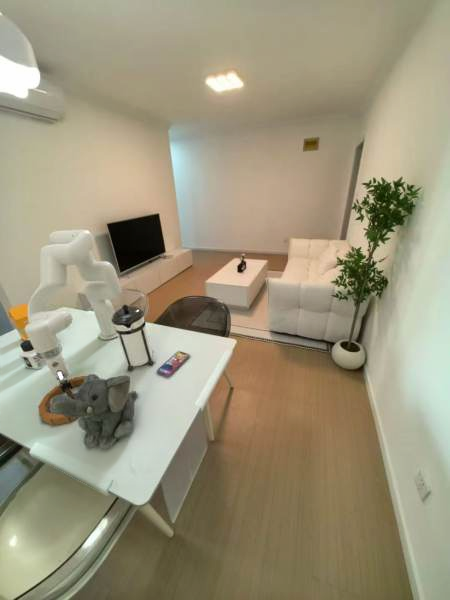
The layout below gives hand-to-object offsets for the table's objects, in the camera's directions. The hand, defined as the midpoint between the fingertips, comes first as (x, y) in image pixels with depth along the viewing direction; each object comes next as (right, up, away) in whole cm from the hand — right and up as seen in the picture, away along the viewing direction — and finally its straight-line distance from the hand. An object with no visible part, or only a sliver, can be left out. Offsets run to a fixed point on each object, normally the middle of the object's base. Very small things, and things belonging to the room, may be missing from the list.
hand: (65, 383), depth 94 cm
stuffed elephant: (+27, -9, -15) cm, 32 cm away
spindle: (+6, -5, -5) cm, 9 cm away
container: (-24, +4, +17) cm, 30 cm away
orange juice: (-46, +13, +39) cm, 62 cm away
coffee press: (+25, +6, +15) cm, 30 cm away
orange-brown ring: (+6, -5, -5) cm, 9 cm away
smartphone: (+42, +5, +11) cm, 44 cm away
